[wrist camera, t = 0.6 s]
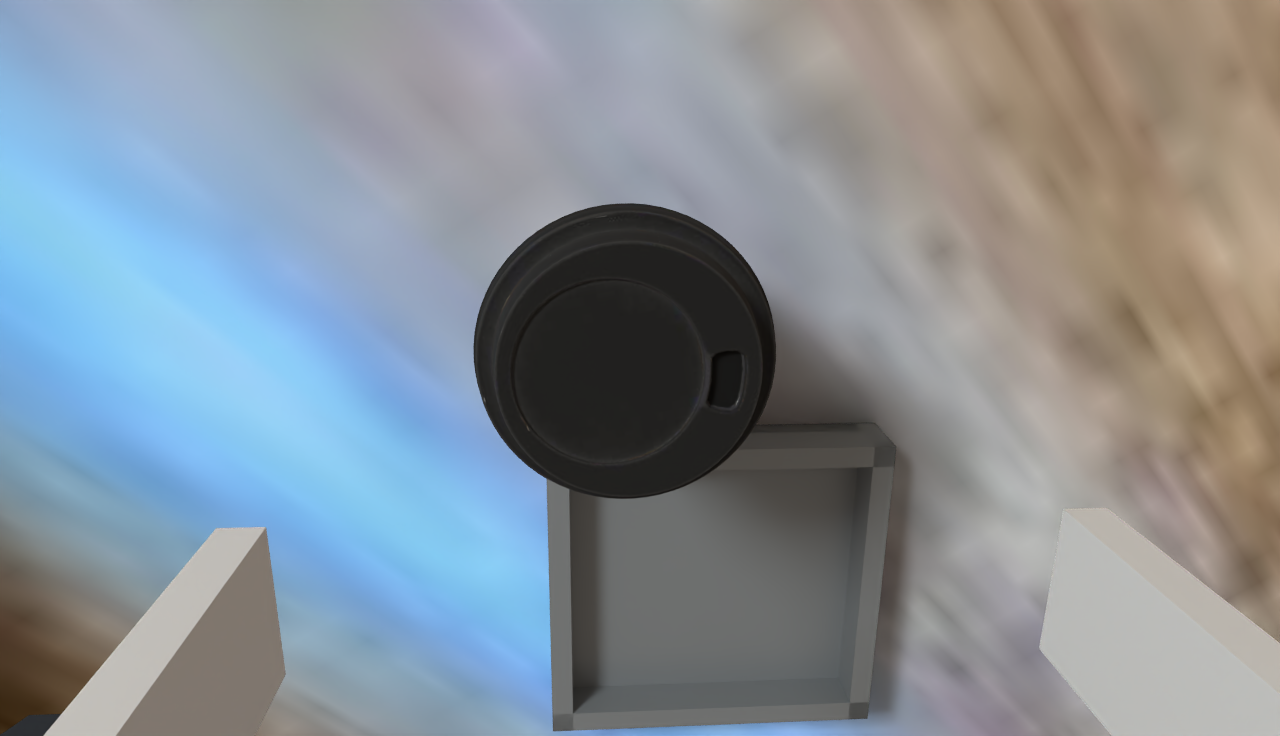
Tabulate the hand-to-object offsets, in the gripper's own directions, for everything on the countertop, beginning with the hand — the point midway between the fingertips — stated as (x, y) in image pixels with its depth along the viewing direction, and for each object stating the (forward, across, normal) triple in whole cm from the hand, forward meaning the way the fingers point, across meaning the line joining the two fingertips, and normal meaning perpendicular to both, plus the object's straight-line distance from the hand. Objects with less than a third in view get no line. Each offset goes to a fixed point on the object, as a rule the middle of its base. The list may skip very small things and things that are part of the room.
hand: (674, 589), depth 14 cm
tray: (+26, +5, -15) cm, 31 cm away
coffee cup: (+27, 0, 0) cm, 27 cm away
